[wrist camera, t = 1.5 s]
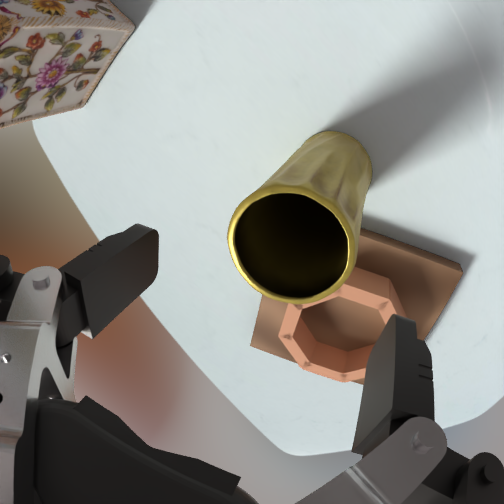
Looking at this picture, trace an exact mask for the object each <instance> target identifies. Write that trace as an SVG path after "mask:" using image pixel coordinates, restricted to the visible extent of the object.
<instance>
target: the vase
mask: <svg viewBox="0 0 504 504" xmlns="http://www.w3.org/2000/svg"><path fill="white" fill-rule="evenodd" d="M371 179H372V166H371V161H370V158H369V156H368V154H367V152H366V151H365V149H364V148H363V146H362V145H361V144H360V143H359V142H358V141H357V140H356V139H354V138H353V137H351V136H349V135H347V134H345V133H342V132H335V131H325V132H321V133H318V134H316V135H314V136H312V137H311V138H309V139H308V140H306V141H305V142H304V144H303V145H302V146H301V147H300V148H299V149H298V150H297V151H296V152H295V153H294V154H293V155H292V156H291V157H290V158H289V159H288V160H287V161H286V162H285V163H284V164H283V165H282V166H281V167H280V168H279V169H278V170H277V171H276V172H275V173H274V174H273V175H272V176H271V177H270V178H269V179H268V180H267V181H266V182H265V183H264V184H263V185H262V186H261V187H260V188H259V189H257V190H256V191H255V192H253V193H252V194H251V195H249V196H248V197H247V198H246V199H244V200H243V201H242V202H241V203H240V204H239V206H238V207H237V208H236V210H235V212H234V213H233V215H232V218H231V220H230V224H229V227H228V234H227V240H228V246H229V250H230V254H231V257H232V260H233V262H234V264H235V266H236V268H237V269H238V271H239V272H240V274H241V275H242V277H243V278H244V279H245V280H246V281H247V282H248V283H249V285H251V286H252V287H253V288H254V289H255V290H257V291H258V292H260V293H261V294H263V295H265V296H266V297H268V298H271V299H273V300H277V301H280V302H285V303H290V304H308V303H313V302H316V301H319V300H321V299H323V298H325V297H327V296H329V295H331V294H332V293H334V292H336V291H337V290H338V289H339V288H340V287H341V286H342V285H343V284H344V282H345V281H346V280H347V279H348V277H349V275H350V274H351V272H352V270H353V268H354V266H355V264H356V259H357V253H358V245H359V236H360V228H361V220H362V213H363V207H364V202H365V197H366V194H367V191H368V187H369V185H370V182H371Z"/></svg>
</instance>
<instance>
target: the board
mask: <svg viewBox="0 0 504 504" xmlns="http://www.w3.org/2000/svg"><path fill="white" fill-rule="evenodd" d="M354 267H357V268H360V269H363V270H366V271H369V272H372V273H375V274H377V275H380V276H383V277H386V278H389V280H391V282H392V284H393V287H394V289H395V291H396V293H397V295H398V298H399V300H400V302H401V304H402V307H403V309H404V311H405V314H406V316H407V318H409V319H412V320H415V322H416V329H417V339H420V340H424V339H425V337H426V336H427V334H428V333H429V331H430V330H431V328H432V326H433V325H434V323H435V322H436V320H437V318H438V317H439V315H440V313H441V312H442V310H443V308H444V307H445V305H446V303H447V301H448V300H449V298H450V296H451V294H452V293H453V291H454V289H455V287H456V285H457V284H458V282H459V280H460V278H461V276H462V274H463V271H462V268H461V266H460V264H458V263H456V262H453V261H451V260H448V259H446V258H443V257H440V256H438V255H435V254H433V253H430V252H427V251H425V250H422V249H419V248H416V247H414V246H411V245H408V244H405V243H403V242H400V241H397V240H394V239H392V238H389V237H386V236H383V235H380V234H377V233H374V232H372V231H369V230H366V229H363V228H360V236H359V245H358V253H357V259H356V264H355V266H354ZM287 306H288V303H285V302H280V301H277V300H273V299H271V298H268V297H266V296H265V295H263V294H262V299H261V303H260V307H259V311H258V315H257V319H256V324H255V328H254V332H253V336H252V340H251V344H250V346H252V347H254V348H257V349H260V350H262V351H265V352H268V353H270V354H273V355H276V356H278V357H281V358H284V359H287V360H289V361H292V362H295V363H297V362H296V361H295V359H294V358H293V356H292V355H291V354H290V352H289V351H288V349H287V348H286V347H285V345H284V344H283V342H282V341H281V340H280V338H279V337H278V335H279V332H280V329H281V325H282V322H283V319H284V316H285V313H286V309H287ZM301 318H302V320H303V321H304V323H305V324H306V326H307V327H308V329H309V330H310V332H311V333H312V335H313V336H314V338H315V340H316V341H317V342H320V343H323V344H326V345H329V346H332V347H335V348H338V349H341V350H344V351H347V352H348V351H352V350H355V349H359V348H362V347H366V346H369V345H372V344H375V343H376V341H377V340H378V338H379V336H380V334H381V333H382V331H383V329H384V327H385V322H384V320H383V318H382V316H381V314H380V312H379V310H378V309H375V308H372V307H369V306H366V305H363V304H360V303H357V302H354V301H351V300H348V299H346V298H343V297H340V296H338V297H335V298H332V299H330V300H327V301H324V302H321V303H318V304H315V305H313V306H310V307H307V308H304V309H303V310H302V313H301ZM364 379H365V378H361V379H357V380H353V381H352V382H356V383H359V384H362V385H364Z"/></svg>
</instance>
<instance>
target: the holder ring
mask: <svg viewBox="0 0 504 504" xmlns="http://www.w3.org/2000/svg"><path fill="white" fill-rule="evenodd" d="M338 296H340V297H343V298H346V299H348V300H351V301H354V302H357V303H360V304H363V305H366V306H369V307H372V308H375V309H378V310H379V312H380V314H381V316H382V318H383V320H384V322H385V325H386V324H387V322H388V320H389V318H390V317H391V315H392V314H397V315H400V316H403V317H406V318H407V316H406V314H405V311H404V309H403V307H402V304H401V302H400V300H399V298H398V295H397V293H396V291H395V289H394V287H393V284H392V282H391V280H389V278H386V277H383V276H380V275H377V274H375V273H372V272H369V271H366V270H363V269H360V268H357V267H354V268H353V270H352V272H351V274H350V275H349V277H348V279H347V280H346V281H345V282H344V284H343V285H342V286H341V287H340V288H339V289H338V290H337V291H336V292H334V293H332V294H331V295H329V296H327V297H325V298H323V299H321V300H319V301H316V302H313V303H308V304H290V303H288V306H287V309H286V313H285V316H284V319H283V322H282V325H281V329H280V332H279V335H278V337H279V338H280V340H281V341H282V342H283V344H284V345H285V347H286V348H287V349H288V351H289V352H290V354H291V355H292V356H293V358H294V359H295V361H296V362H297V363H298V365H299V366H300V367H301V368H302V369H304V370H307V371H310V372H312V373H315V374H318V375H321V376H324V377H327V378H331V379H334V380H337V381H340V382H349V381H353V380H357V379H361V378H365V372H366V365H367V361H368V358H369V355H370V353H371V351H372V349H373V347H374V345H375V344H372V345H369V346H366V347H362V348H359V349H355V350H352V351H348V352H347V351H344V350H341V349H338V348H335V347H332V346H329V345H326V344H323V343H320V342H317V341H316V340H315V338H314V336H313V335H312V333H311V332H310V330H309V329H308V327H307V326H306V324H305V323H304V321H303V320H302V318H301V313H302V310H303V309H304V308H307V307H310V306H313V305H315V304H318V303H321V302H324V301H327V300H330V299H332V298H335V297H338Z"/></svg>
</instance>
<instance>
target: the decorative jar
mask: <svg viewBox="0 0 504 504" xmlns="http://www.w3.org/2000/svg"><path fill="white" fill-rule="evenodd" d="M134 29H135V26H134V24H133V23H132V22H131V21H130V20H129V19H128V18H127V17H126V16H125V15H124V14H123V13H122V12H121V11H120V10H119V9H118V8H117V7H116V6H115V5H113V4H112V2H110V1H109V0H0V129H1V128H5V127H8V126H11V125H15V124H19V123H22V122H26V121H30V120H35V119H39V118H43V117H47V116H51V115H55V114H59V113H64V112H67V111H72V110H76V109H79V108H82V107H84V105H85V103H86V102H87V100H88V98H89V96H90V95H91V93H92V92H93V90H94V89H95V87H96V85H97V84H98V82H99V80H100V79H101V77H102V76H103V74H104V73H105V71H106V70H107V68H108V67H109V65H110V63H111V62H112V60H113V59H114V57H115V56H116V54H117V53H118V51H119V50H120V48H121V47H122V46H123V44H124V43H125V41H126V40H127V39H128V37H129V36H130V35H131V34H132V32H133V31H134Z"/></svg>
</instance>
